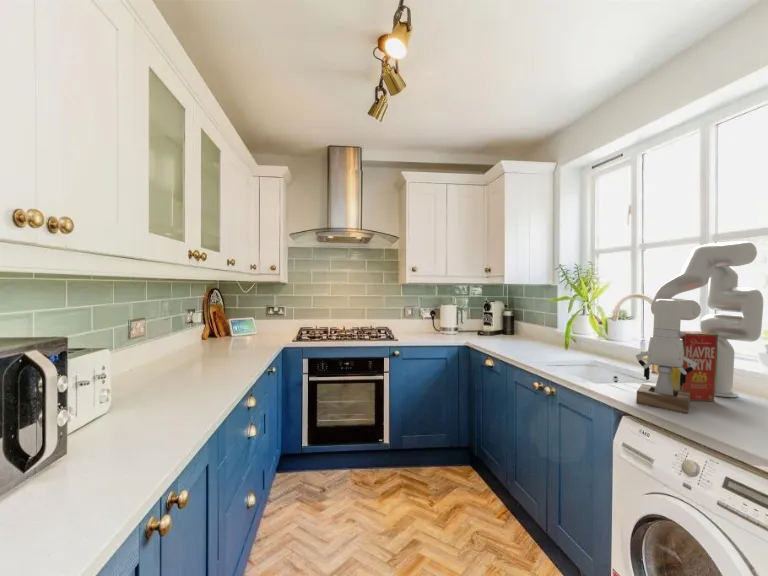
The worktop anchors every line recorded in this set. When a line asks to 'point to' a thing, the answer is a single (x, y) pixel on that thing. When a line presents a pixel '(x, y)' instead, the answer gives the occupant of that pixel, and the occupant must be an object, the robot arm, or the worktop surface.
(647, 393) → the socket block
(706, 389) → the food packaging
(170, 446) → the worktop surface
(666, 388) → the salt shaker
